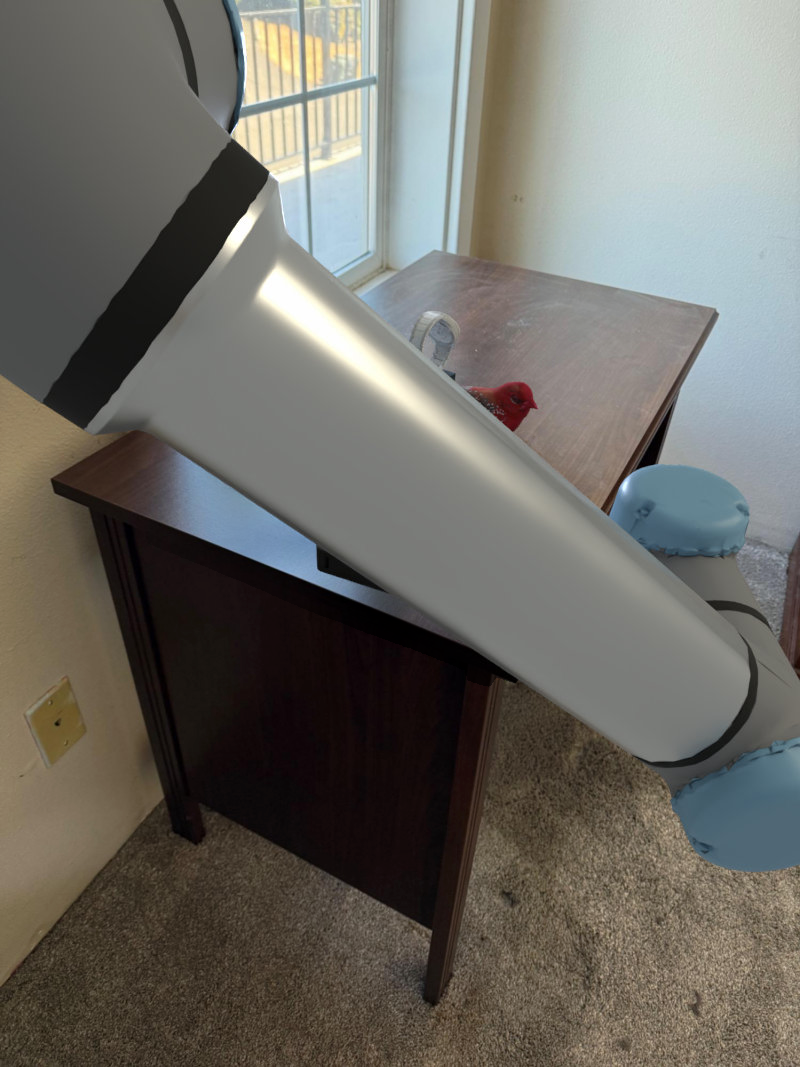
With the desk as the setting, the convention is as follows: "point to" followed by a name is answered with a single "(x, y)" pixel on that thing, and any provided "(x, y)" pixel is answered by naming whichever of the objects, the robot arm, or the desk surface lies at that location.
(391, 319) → the desk surface
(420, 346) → the watch
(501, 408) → the decorative bird figurine
